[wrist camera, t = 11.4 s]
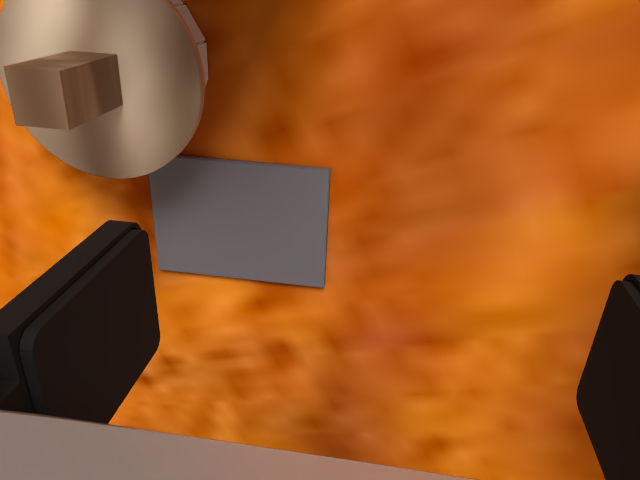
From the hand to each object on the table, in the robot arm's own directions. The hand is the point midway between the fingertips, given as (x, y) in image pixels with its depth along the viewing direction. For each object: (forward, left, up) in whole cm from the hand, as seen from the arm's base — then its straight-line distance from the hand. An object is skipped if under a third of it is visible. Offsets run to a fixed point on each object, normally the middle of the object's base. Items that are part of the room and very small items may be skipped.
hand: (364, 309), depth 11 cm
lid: (+18, 0, -23) cm, 29 cm away
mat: (+11, +12, -28) cm, 33 cm away
